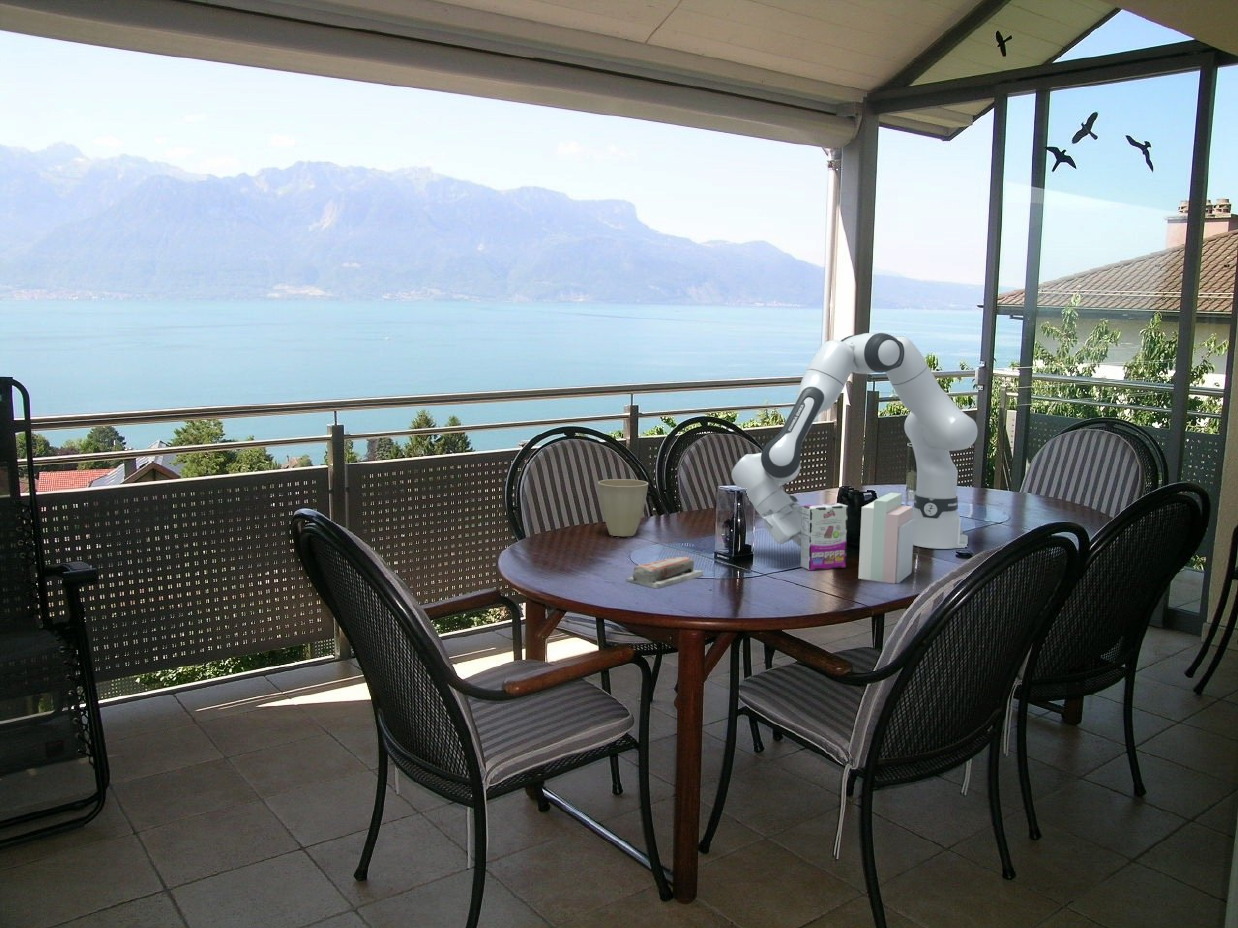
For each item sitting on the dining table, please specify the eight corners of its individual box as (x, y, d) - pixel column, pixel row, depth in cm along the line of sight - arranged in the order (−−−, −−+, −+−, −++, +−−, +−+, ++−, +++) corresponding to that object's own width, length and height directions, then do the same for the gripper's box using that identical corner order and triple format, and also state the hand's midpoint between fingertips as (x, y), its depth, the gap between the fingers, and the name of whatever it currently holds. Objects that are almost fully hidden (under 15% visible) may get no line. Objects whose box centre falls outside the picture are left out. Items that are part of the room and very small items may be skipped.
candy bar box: (835, 563, 255) (838, 502, 253) (846, 567, 251) (849, 505, 249) (798, 566, 252) (801, 504, 249) (808, 571, 247) (811, 507, 245)
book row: (875, 567, 252) (878, 491, 249) (912, 572, 247) (916, 495, 244) (858, 578, 240) (862, 499, 237) (897, 584, 235) (901, 503, 232)
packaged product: (657, 570, 228) (625, 563, 234) (657, 590, 228) (625, 583, 235) (704, 558, 241) (673, 551, 248) (703, 577, 242) (672, 570, 248)
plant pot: (647, 541, 280) (648, 486, 278) (596, 540, 281) (597, 486, 278) (647, 530, 295) (648, 478, 293) (598, 529, 295) (599, 478, 293)
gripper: (768, 506, 247) (803, 548, 243) (797, 495, 264) (830, 534, 261) (751, 521, 250) (786, 563, 246) (782, 509, 267) (814, 548, 263)
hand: (809, 548), depth 253 cm, fingers closed
